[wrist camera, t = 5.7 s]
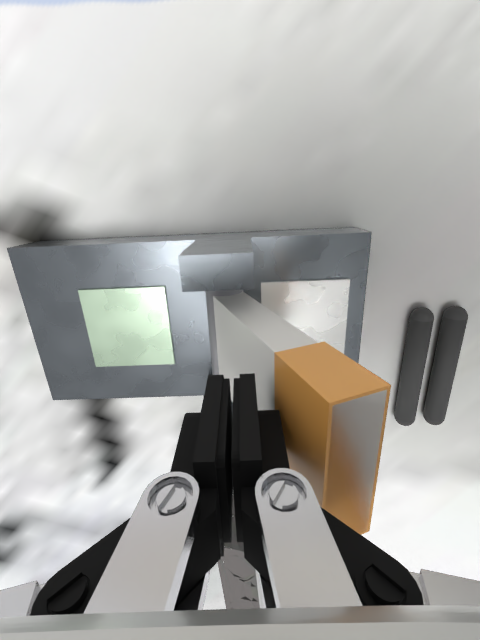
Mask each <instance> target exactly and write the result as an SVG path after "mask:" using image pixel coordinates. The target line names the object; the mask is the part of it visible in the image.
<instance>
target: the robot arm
mask: <svg viewBox="0 0 480 640" xmlns="http://www.w3.org/2000/svg"><path fill="white" fill-rule="evenodd" d="M233 494H234V508H235V522H236V536H237V542H243V544H244V558H245V559H246V560H247V561H248V562H249V563H250V564H251V565H252V566H253V567H254V568H255V569H256V570H257V571H258V578H259V584H260V590H261V595H262V600H263V606H264V608H257V609H220V610H203V606H204V602H205V597H206V592H207V588H208V583H209V574H210V571H209V570H210V569H211V568H212V567H213V566H214V565H215V564H216V563H217V562H218V561H219V560H220V559H221V556H224V545H225V543H231V542H232V506H233ZM0 640H480V581H476V580H471V579H467V578H462V577H457V576H452V575H448V574H443V573H438V572H433V571H429V570H424V569H421V571H420V574H418V573H414V572H409V571H408V570H407V569H406V568H405V567H404V566H403V565H402V564H400V563H399V562H398V561H397V560H395V559H394V558H393V557H391V556H390V555H388V554H387V553H386V552H384V551H383V550H381V549H380V548H378V547H377V546H376V545H374V544H373V543H371V542H370V541H369V540H367V539H366V538H364V537H363V536H361V535H360V534H359V533H357V532H356V531H354V530H353V529H352V528H350V527H349V526H347V525H346V524H344V523H343V522H342V521H340V520H339V519H337V518H336V517H335V516H333V515H332V514H330V513H329V512H327V511H326V510H325V509H323V508H322V507H320V505H319V503H318V500H317V498H316V496H315V493H314V491H313V489H312V486H311V485H310V483H309V481H308V480H307V479H306V478H305V477H304V476H303V475H302V474H300V473H298V472H296V471H294V470H292V469H290V466H289V461H288V455H287V450H286V445H285V439H284V434H283V428H282V423H281V418H280V413H279V410H258V407H257V395H256V383H255V373H250V374H240V378H234V385H233V416H232V407H231V392H230V379H229V378H226V379H224V375H208V378H207V383H206V389H205V394H204V400H203V406H202V411H201V413H186V414H185V416H184V420H183V424H182V428H181V432H180V436H179V440H178V444H177V448H176V452H175V456H174V460H173V464H172V468H171V472H170V473H166V474H163V475H161V476H159V477H157V478H156V479H154V480H153V481H152V482H151V483H150V484H149V485H148V486H147V488H146V489H145V491H144V492H143V494H142V496H141V498H140V500H139V502H138V504H137V506H136V508H135V510H134V512H133V514H132V516H131V518H129V519H128V520H127V521H125V522H124V523H123V524H121V525H120V526H119V527H117V528H116V529H115V530H113V531H112V532H111V533H109V534H108V535H107V536H105V537H104V538H103V539H101V540H100V541H99V542H97V543H96V544H94V545H93V546H92V547H90V548H89V549H88V550H86V551H85V552H84V553H82V554H81V555H80V556H78V557H77V558H76V559H74V560H73V561H72V562H70V563H69V564H68V565H66V566H65V567H64V568H62V569H61V570H59V571H58V572H57V573H56V574H55V575H54V576H53V577H52V578H50V579H49V580H48V581H47V583H45V584H42V585H39V584H38V582H37V581H33V582H30V583H26V584H22V585H19V586H15V587H11V588H7V589H4V590H0Z"/></svg>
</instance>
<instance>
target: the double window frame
mask: <svg viewBox="0 0 480 640" xmlns="http://www.w3.org/2000/svg"><path fill="white" fill-rule="evenodd" d="M370 242H371V232H369V231H366V230H362V229H358V228H355V227H345V228H323V229H300V230H278V231H255V232H233V233H211V234H188V235H166V236H143V237H121V238H98V239H76V240H53V241H38V242H33V243H28V244H24V245H19V246H15V247H10V248H7V250H8V253H9V257H10V260H11V263H12V267H13V270H14V273H15V276H16V280H17V283H18V286H19V290H20V293H21V296H22V299H23V303H24V306H25V309H26V313H27V316H28V319H29V322H30V326H31V329H32V332H33V335H34V339H35V342H36V345H37V349H38V352H39V355H40V358H41V362H42V365H43V368H44V372H45V375H46V378H47V381H48V385H49V388H50V391H51V395H52V398H53V400H70V399H102V398H133V397H165V396H197V395H204V394H205V389H206V383H207V378H208V375H213V374H212V362H211V351H210V339H209V327H208V316H207V304H206V293H205V291H222V290H243V292H244V293H246V294H247V295H249V296H250V297H252V298H253V299H255V300H256V301H258V302H259V303H261V304H262V305H264V306H265V307H266V308H268V309H269V310H271V311H272V312H274V313H275V314H277V315H278V316H280V317H281V318H283V319H284V320H286V321H287V322H289V323H290V324H292V325H293V326H295V327H296V328H297V329H299V330H300V331H302V332H303V333H305V334H306V335H308V336H309V337H311V338H312V339H314V340H315V341H317V342H318V343H320V342H326V343H327V344H329V345H331V346H332V347H334V348H335V349H337V350H338V351H340V352H341V353H343V354H344V355H346V356H347V357H349V358H350V359H352V360H354V361H355V362H357V363H358V360H359V350H360V340H361V330H362V321H363V311H364V301H365V291H366V281H367V272H368V262H369V252H370ZM203 400H204V399H203ZM202 406H203V404H202ZM231 407H232V416H233V402H232V401H231ZM201 411H202V409H201Z"/></svg>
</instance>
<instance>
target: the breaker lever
mask: <svg viewBox="0 0 480 640" xmlns="http://www.w3.org/2000/svg"><path fill="white" fill-rule="evenodd" d="M205 293H206V304H207V316H208V327H209V339H210V351H211V362H212V374H213V375H224V379H226V378H229V379H230V392H231V401H232V402H233V385H234V378H240V374H250V373H255V383H256V395H257V407H258V410H279V413H280V418H281V423H282V428H283V434H284V439H285V445H286V450H287V455H288V461H289V466H290V469H292V470H294V471H296V472H298V473H300V474H302V475H303V476H304V477H305V478H306V479H307V480H308V481H309V483H310V485H311V486H312V489H313V491H314V493H315V496H316V498H317V500H318V503H319V505H320V507H322V508H323V509H325V510H326V511H327V512H329V513H330V514H332V515H333V516H335V517H336V518H337V519H339V520H340V521H342V522H343V523H344V524H346V525H347V526H349V527H350V528H352V529H353V530H354V531H356V532H357V533H359V534H360V535H361V534H364V533H366V532H368V531H369V530H370V523H371V516H372V509H373V503H374V496H375V489H376V482H377V476H378V469H379V462H380V455H381V449H382V442H383V435H384V429H385V422H386V415H387V408H388V402H389V395H390V388H391V385H390V384H389V383H387V382H386V381H384V380H383V379H381V378H380V377H378V376H377V375H375V374H373V373H372V372H370V371H369V370H367V369H366V368H364V367H363V366H361V365H360V364H358V363H357V362H355V361H354V360H352V359H350V358H349V357H347V356H346V355H344V354H343V353H341V352H340V351H338V350H337V349H335V348H334V347H332V346H331V345H329V344H327V343H326V342H320V343H318V342H317V341H315V340H314V339H312V338H311V337H309V336H308V335H306V334H305V333H303V332H302V331H300V330H299V329H297V328H296V327H295V326H293V325H292V324H290V323H289V322H287V321H286V320H284V319H283V318H281V317H280V316H278V315H277V314H275V313H274V312H272V311H271V310H269V309H268V308H266V307H265V306H264V305H262V304H261V303H259V302H258V301H256V300H255V299H253V298H252V297H250V296H249V295H247V294H246V293H244V292H243V290H222V291H205Z"/></svg>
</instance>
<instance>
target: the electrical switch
mask: <svg viewBox="0 0 480 640" xmlns="http://www.w3.org/2000/svg"><path fill="white" fill-rule="evenodd" d="M232 516H233V517H232V542H231V543H225V545H224V546H225V547H224V556H221V559H220V560H219V561H218V566H219V572H220V577H221V582H222V588H223V593H224V598H225V604H226V609H257V608H264V606H263V600H262V595H261V590H260V584H259V578H258V571H257V570H256V569H255V568H254V567H253V566H252V565H251V564H250V563H249V562H248V561H247V560H246V559H245V558H244V544H243V542H237V536H236V522H235V508H234V494H233V506H232ZM227 547H228V548H227ZM223 561H224V563H223Z"/></svg>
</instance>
